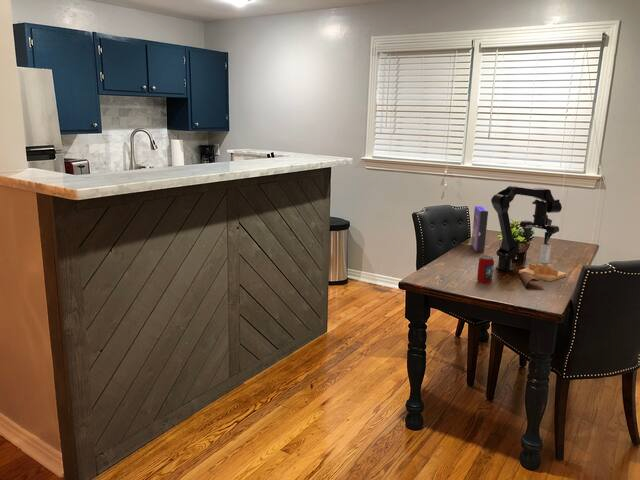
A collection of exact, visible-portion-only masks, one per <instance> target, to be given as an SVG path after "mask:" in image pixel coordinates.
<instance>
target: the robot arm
mask: <svg viewBox="0 0 640 480" xmlns="http://www.w3.org/2000/svg"><path fill="white" fill-rule="evenodd" d="M517 195H520V196H527V197H532V198H534V199H535V200H534V201H532V202H531V203H532V204H533V205H535V206H534V207H535V208H534V214H532V217H533V221H532V220H531V221H530V220H522V221H520V222H519V228H521V229H522V230H523V232H524V234H525V236H526V239H527V242H530V241H531V233H532V229H533V228H534V229H535V228H536V229H540V230H545V232H544V239H543V240H544V241H543V244H544V243H546V244H548V242H549V241H550V238H551V237H552V236H553V235H554V234H556V233H560V228H559V227H560V226H558V225H552V223H553V219H550V218H549V216H548V214H550V213H552V214H554V213H560V212H561V211H562V209H563V208H562V204H561V202H560V201H561V200H560V199H558V198H556V199H555V198H554V196H553V194H552V191H551V189H548V188H543V187H534V188H528V187H522V186H521V187H520V186H516V185H515V186H514V185H509V186H507V187H506V188H505V189H502V190H501V191H499V192H497V193H496V194H494V195H493V196H492V198H491V200H490V202H491V205H492V208H493V209H494V211H495V212H496V214H497V218H498V222H499V226H500V232H501V236H502V240H501V241H500V242H501V243H500V248H499V249H497V251H496V256H497V257H499V258H498V259H499V260H498V266H496V267H495V269H496V270H500V271H504V272H510V271H513V270H515V269H514V268H512V262H513V260H515V259H516V258H517V256H518V253H519V251H520V248H521V247H520V245H519V240H518V239H515V238H514V235H513V231H512V226H511V220H510V217H509V215H510V214H509V210H510V203H511V202H512V201H513V200H514V198H515V197H516V196H517Z"/></svg>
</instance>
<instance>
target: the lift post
mask: <svg viewBox="0 0 640 480" xmlns="http://www.w3.org/2000/svg"><path fill="white" fill-rule="evenodd" d="M551 249H552V244H549V243H547V244H546V243H544V242H543V243H541V246H540V252H539V260H538V262H539V263H542V264H549V263H550V256H551Z"/></svg>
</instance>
